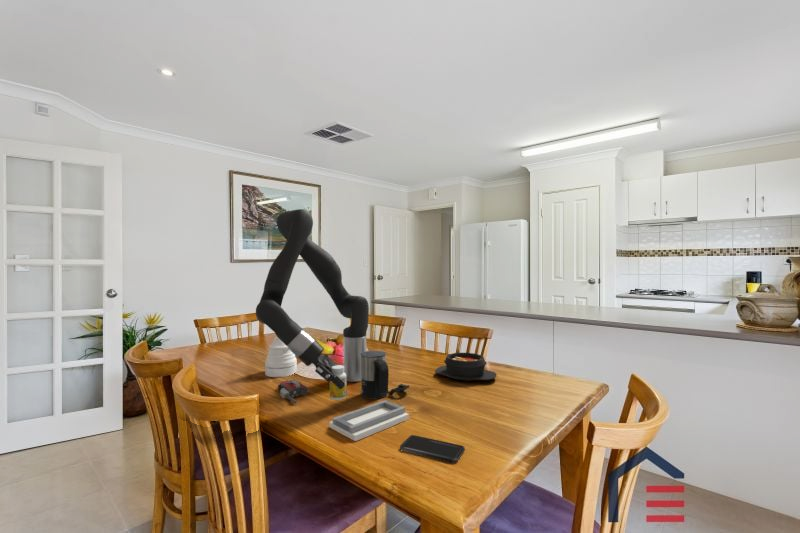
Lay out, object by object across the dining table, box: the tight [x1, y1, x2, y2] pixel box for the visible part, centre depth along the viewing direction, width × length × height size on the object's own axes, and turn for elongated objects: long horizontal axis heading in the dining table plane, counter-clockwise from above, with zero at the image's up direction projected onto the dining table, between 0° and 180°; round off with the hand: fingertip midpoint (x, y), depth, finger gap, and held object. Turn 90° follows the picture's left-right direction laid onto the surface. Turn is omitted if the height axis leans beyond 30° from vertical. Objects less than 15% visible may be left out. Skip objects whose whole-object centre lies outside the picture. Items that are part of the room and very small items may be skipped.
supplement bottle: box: [329, 364, 348, 401], centre depth 123 cm, size 5×5×10 cm
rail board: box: [328, 399, 410, 442], centre depth 111 cm, size 20×12×3 cm, turn 134°
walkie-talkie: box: [277, 379, 308, 404], centre depth 136 cm, size 9×4×20 cm
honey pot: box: [264, 336, 298, 378], centre depth 163 cm, size 13×13×18 cm
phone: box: [399, 434, 466, 464], centre depth 96 cm, size 8×1×15 cm
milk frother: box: [360, 350, 410, 400], centre depth 136 cm, size 14×16×15 cm
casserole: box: [434, 352, 498, 382], centre depth 155 cm, size 25×19×8 cm
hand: (343, 383), depth 123 cm, fingers closed on supplement bottle, 5 cm apart
